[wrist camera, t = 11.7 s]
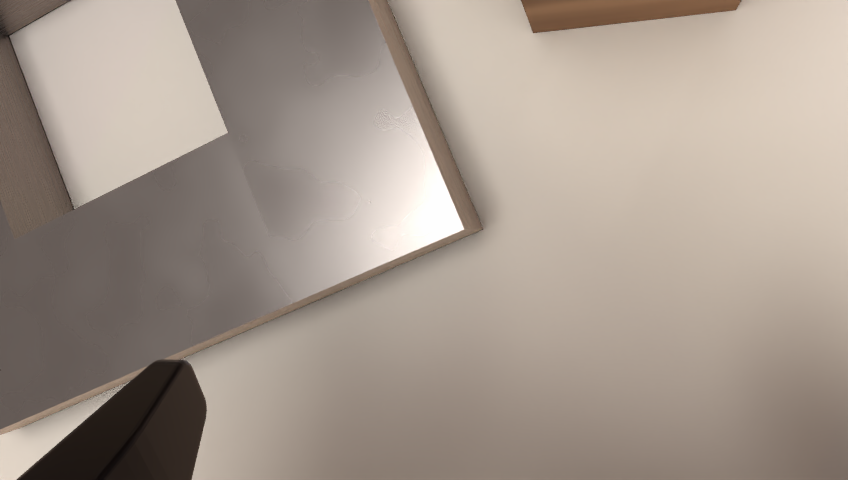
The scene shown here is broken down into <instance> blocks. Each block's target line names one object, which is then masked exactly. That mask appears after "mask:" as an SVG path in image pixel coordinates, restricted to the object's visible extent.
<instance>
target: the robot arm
mask: <svg viewBox="0 0 848 480" xmlns="http://www.w3.org/2000/svg"><path fill="white" fill-rule="evenodd" d="M206 411H207V408H206V400H205V397H204V395H203V392H202V390H201V388H200V385H199V383H198V380H197V378H196V375H195V373H194V371H193V368H192V366H191V364H189V363H188V362H187V361H185V360H171V359H160V360H156V361H154V362H153V363H151V364H150V365H149V366H147V367H146V368H145V369H144V370H143V371H142V372H141V373H139V374H138V375H137V376H136V377H135V378H134V379H132V380H131V381H130V382H129V383H128V384H127V385H125V386H124V387H123V388H122V389H121V390H120V391H119V392H117V393H116V394H115V395H114V396H113V397H112V398H110V399H109V400H108V401H107V402H106V403H105V404H103V405H102V406H101V407H100V408H99V409H98V410H97V411H95V412H94V413H93V414H92V415H91V416H90V417H88V418H87V419H86V420H85V421H84V422H83V423H81V424H80V425H79V426H78V427H77V428H76V429H75V430H73V431H72V432H71V433H70V434H69V435H68V436H66V437H65V438H64V439H63V440H62V441H61V442H59V443H58V444H57V445H56V446H55V447H54V448H53V449H51V450H50V451H49V452H48V453H47V454H46V455H44V456H43V457H42V458H41V459H40V460H39V461H37V462H36V463H35V464H34V465H33V466H32V467H31V468H29V469H28V470H27V471H26V472H25V473H24V474H22V475H21V476H20V477H19V478H18V479H17V480H192V475H193V471H194V467H195V462H196V458H197V454H198V449H199V445H200V441H201V437H202V432H203V428H204V424H205V419H206Z"/></svg>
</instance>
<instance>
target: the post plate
mask: <svg viewBox="0 0 848 480" xmlns="http://www.w3.org/2000/svg"><path fill="white" fill-rule="evenodd" d="M67 1H69V0H0V435H1V434H4V433H7V432H10V431H13V430H16V429H19V428H21V427H23V426H26V425H28V424H30V423H33V422H35V421H37V420H40V419H42V418H44V417H47V416H49V415H51V414H54V413H56V412H58V411H61V410H63V409H65V408H68V407H70V406H72V405H75V404H77V403H79V402H82V401H84V400H86V399H89V398H91V397H93V396H96V395H98V394H100V393H103V392H105V391H107V390H110V389H112V388H114V387H117V386H119V385H121V384H124V383H126V382H128V381H131V380H132V379H134V378H135V377H136V376H137V375H138V374H139V373H141V372H142V371H143V370H144V369H145V368H146V367H147V366H149V365H150V364H151V363H153V362H154V361H156V360H160V359H171V360H180V359H182V358H184V357H187V356H189V355H191V354H194V353H196V352H198V351H201V350H203V349H205V348H208V347H210V346H212V345H215V344H217V343H219V342H222V341H224V340H226V339H229V338H231V337H233V336H236V335H238V334H240V333H243V332H245V331H247V330H250V329H252V328H254V327H256V326H259V325H261V324H263V323H266V322H268V321H270V320H273V319H275V318H277V317H280V316H282V315H284V314H287V313H289V312H291V311H294V310H296V309H298V308H301V307H303V306H305V305H308V304H310V303H312V302H315V301H317V300H319V299H322V298H324V297H326V296H329V295H331V294H333V293H336V292H338V291H340V290H343V289H345V288H347V287H350V286H352V285H354V284H357V283H359V282H361V281H364V280H366V279H368V278H371V277H373V276H375V275H378V274H380V273H382V272H385V271H387V270H389V269H392V268H394V267H396V266H399V265H401V264H403V263H406V262H408V261H410V260H413V259H415V258H417V257H420V256H422V255H424V254H427V253H429V252H431V251H434V250H436V249H438V248H441V247H443V246H445V245H448V244H450V243H452V242H455V241H457V240H459V239H462V238H464V237H466V236H469V235H471V234H473V233H476V232H478V231H480V230H483V228H482V225H481V223H480V221H479V218H478V216H477V213H476V211H475V209H474V206H473V204H472V201H471V199H470V197H469V194H468V192H467V190H466V187H465V185H464V182H463V180H462V178H461V175H460V173H459V171H458V168H457V166H456V163H455V161H454V159H453V156H452V154H451V152H450V149H449V147H448V144H447V142H446V140H445V137H444V135H443V133H442V130H441V128H440V125H439V123H438V121H437V118H436V116H435V113H434V111H433V109H432V106H431V104H430V102H429V99H428V97H427V94H426V92H425V90H424V87H423V85H422V83H421V80H420V78H419V75H418V73H417V71H416V68H415V66H414V64H413V61H412V59H411V56H410V54H409V52H408V49H407V47H406V45H405V42H404V40H403V37H402V35H401V33H400V30H399V28H398V25H397V23H396V21H395V18H394V16H393V14H392V11H391V9H390V6H389V4H388V2H387V0H176V2H177V5H178V7H179V10H180V13H181V15H182V18H183V20H184V23H185V25H186V28H187V30H188V33H189V35H190V38H191V40H192V43H193V45H194V48H195V50H196V53H197V55H198V58H199V60H200V63H201V65H202V68H203V70H204V73H205V75H206V78H207V80H208V83H209V86H210V88H211V91H212V93H213V96H214V98H215V101H216V103H217V106H218V108H219V111H220V113H221V116H222V118H223V121H224V123H225V126H226V128H227V131H228V133H227V134H225V135H223V136H221V137H219V138H217V139H215V140H213V141H211V142H209V143H207V144H205V145H203V146H201V147H199V148H197V149H195V150H193V151H191V152H189V153H187V154H185V155H183V156H181V157H179V158H177V159H175V160H173V161H171V162H169V163H167V164H165V165H163V166H161V167H159V168H157V169H155V170H153V171H151V172H149V173H147V174H145V175H143V176H141V177H139V178H137V179H135V180H133V181H130V182H128V183H126V184H124V185H122V186H120V187H118V188H116V189H114V190H112V191H110V192H108V193H106V194H104V195H102V196H100V197H98V198H96V199H94V200H92V201H90V202H88V203H86V204H84V205H82V206H80V207H78V208H76V209H74V210H73V207H72V204H71V202H70V199H69V196H68V194H67V191H66V189H65V186H64V183H63V181H62V178H61V175H60V173H59V170H58V167H57V165H56V162H55V159H54V157H53V154H52V151H51V149H50V146H49V144H48V141H47V138H46V136H45V133H44V130H43V128H42V125H41V122H40V120H39V117H38V114H37V112H36V109H35V106H34V104H33V101H32V98H31V96H30V93H29V91H28V88H27V85H26V83H25V80H24V77H23V75H22V72H21V69H20V67H19V64H18V61H17V59H16V56H15V53H14V51H13V48H12V46H11V43H10V40H9V38H8V35H10V34H12V33H13V32H15V31H17V30H19V29H20V28H22V27H24V26H26V25H27V24H29V23H31V22H33V21H34V20H36V19H38V18H40V17H41V16H43V15H45V14H47V13H48V12H50V11H52V10H54V9H55V8H57V7H59V6H60V5H62V4H64V3H66V2H67Z"/></svg>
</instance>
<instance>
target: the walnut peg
mask: <svg viewBox="0 0 848 480" xmlns="http://www.w3.org/2000/svg"><path fill="white" fill-rule="evenodd" d="M521 1H522V4H523V7H524V9H525V12H526V15H527V17H528V20H529V23H530V25H531V28H532V31H533V33H537V32H546V31H555V30H563V29H572V28H581V27H590V26H599V25H608V24H617V23H625V22H634V21H643V20H652V19H661V18H670V17H679V16H687V15H696V14H705V13H714V12H723V11H732V10H736V9H737V7H738V5H739V4H740V2H741V0H521Z"/></svg>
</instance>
